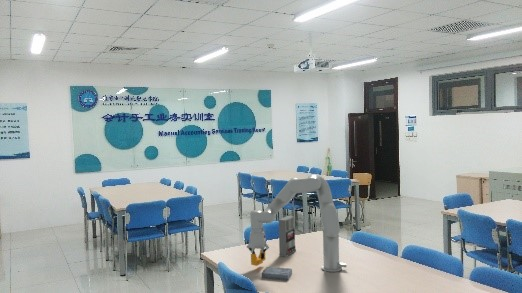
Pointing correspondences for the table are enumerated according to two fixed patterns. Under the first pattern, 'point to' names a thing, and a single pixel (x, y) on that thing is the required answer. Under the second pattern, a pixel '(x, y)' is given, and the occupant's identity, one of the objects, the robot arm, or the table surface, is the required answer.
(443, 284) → the table surface
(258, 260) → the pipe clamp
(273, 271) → the slate stand
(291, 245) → the cassette tape recorder
